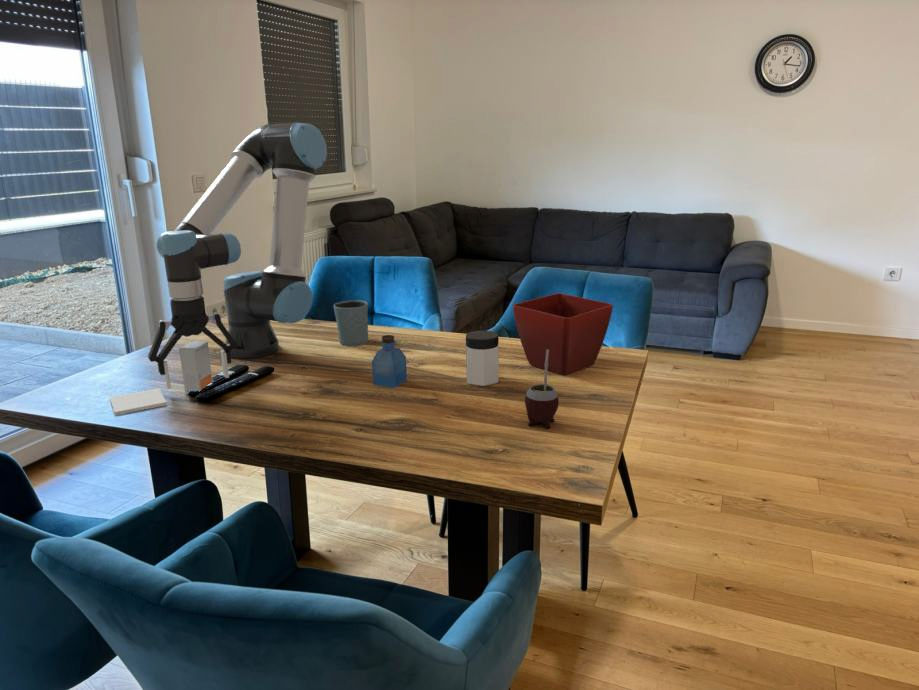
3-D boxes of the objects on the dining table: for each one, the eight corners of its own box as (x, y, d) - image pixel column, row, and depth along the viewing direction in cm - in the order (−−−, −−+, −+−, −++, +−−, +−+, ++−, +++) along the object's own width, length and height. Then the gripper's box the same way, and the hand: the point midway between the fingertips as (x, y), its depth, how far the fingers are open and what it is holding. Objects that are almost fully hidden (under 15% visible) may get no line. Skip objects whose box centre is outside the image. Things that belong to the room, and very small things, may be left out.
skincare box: (200, 395, 163) (194, 348, 159) (184, 394, 163) (178, 348, 160) (214, 387, 168) (208, 341, 165) (199, 386, 169) (192, 340, 166)
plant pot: (565, 382, 167) (567, 317, 162) (510, 365, 181) (510, 304, 176) (611, 365, 179) (615, 304, 174) (557, 350, 193) (558, 292, 188)
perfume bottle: (406, 380, 171) (405, 334, 167) (394, 387, 166) (392, 341, 162) (386, 376, 173) (383, 332, 170) (373, 384, 168) (370, 338, 165)
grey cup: (367, 347, 199) (364, 307, 195) (333, 347, 199) (330, 308, 195) (372, 337, 208) (369, 299, 205) (339, 337, 208) (336, 300, 205)
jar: (500, 386, 165) (500, 339, 162) (467, 387, 165) (466, 340, 162) (497, 374, 174) (497, 329, 170) (465, 374, 174) (465, 330, 170)
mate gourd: (535, 432, 139) (536, 364, 135) (517, 419, 146) (517, 353, 142) (565, 426, 142) (568, 359, 137) (546, 413, 149) (548, 348, 144)
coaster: (159, 391, 166) (159, 388, 166) (166, 405, 157) (166, 401, 157) (110, 400, 161) (109, 397, 160) (114, 415, 152) (114, 412, 151)
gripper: (236, 288, 168) (245, 368, 174) (127, 300, 156) (140, 386, 162) (244, 293, 162) (252, 376, 168) (130, 307, 150) (145, 396, 156)
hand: (197, 381), depth 165 cm, fingers open, 13 cm apart
